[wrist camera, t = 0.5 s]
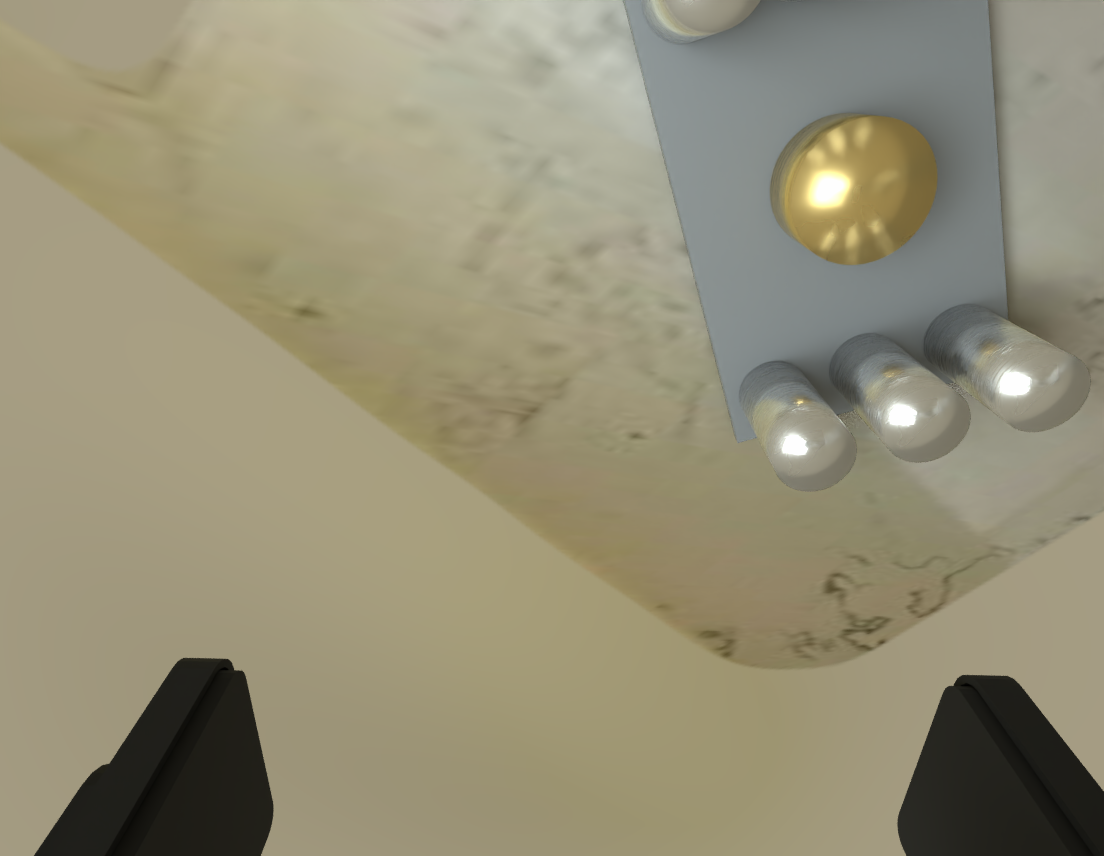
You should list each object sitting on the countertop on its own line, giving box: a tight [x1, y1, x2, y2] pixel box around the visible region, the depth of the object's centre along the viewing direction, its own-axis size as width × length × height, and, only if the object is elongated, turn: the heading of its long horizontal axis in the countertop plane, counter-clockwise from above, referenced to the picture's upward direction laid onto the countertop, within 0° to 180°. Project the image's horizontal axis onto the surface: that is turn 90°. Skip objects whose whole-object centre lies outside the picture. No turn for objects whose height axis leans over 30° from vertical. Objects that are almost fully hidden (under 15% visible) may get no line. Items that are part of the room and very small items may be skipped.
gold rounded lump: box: [770, 113, 937, 265], centre depth 26 cm, size 5×5×3 cm
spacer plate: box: [623, 0, 1008, 443], centre depth 28 cm, size 12×20×1 cm, turn 19°
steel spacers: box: [641, 0, 1091, 491], centre depth 25 cm, size 11×19×6 cm, turn 19°
